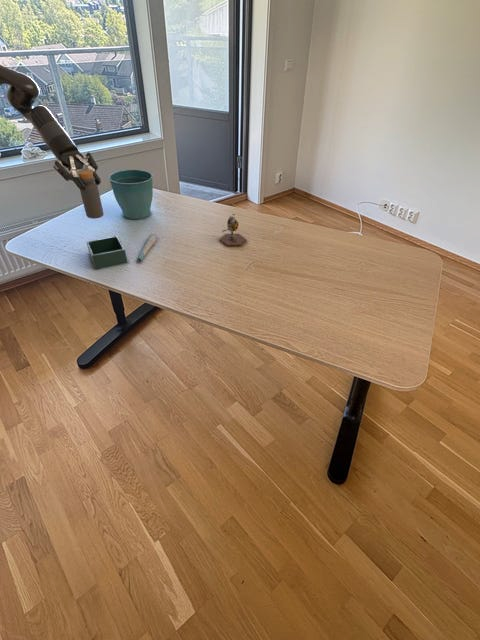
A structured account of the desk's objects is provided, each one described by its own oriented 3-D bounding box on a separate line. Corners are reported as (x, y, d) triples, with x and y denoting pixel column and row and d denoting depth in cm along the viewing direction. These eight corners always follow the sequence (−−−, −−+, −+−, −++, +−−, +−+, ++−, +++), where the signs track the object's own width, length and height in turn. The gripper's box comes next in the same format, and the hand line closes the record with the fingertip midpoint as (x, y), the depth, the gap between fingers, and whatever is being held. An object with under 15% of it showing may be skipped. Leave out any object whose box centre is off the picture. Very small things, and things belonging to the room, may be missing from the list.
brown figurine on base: (229, 232, 148) (229, 205, 140) (248, 238, 145) (250, 210, 137) (216, 243, 140) (216, 215, 132) (237, 249, 138) (238, 221, 130)
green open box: (95, 269, 122) (92, 256, 119) (89, 255, 130) (86, 241, 126) (127, 263, 127) (124, 249, 123) (120, 249, 134) (117, 235, 130)
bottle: (100, 219, 121) (91, 175, 111) (84, 218, 121) (72, 174, 111) (105, 212, 126) (96, 169, 116) (89, 211, 125) (79, 168, 116)
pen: (150, 238, 141) (149, 232, 139) (158, 239, 141) (157, 232, 139) (134, 263, 127) (133, 256, 125) (143, 264, 126) (142, 257, 125)
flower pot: (116, 207, 162) (109, 169, 151) (155, 205, 166) (151, 168, 155) (115, 224, 149) (107, 184, 138) (158, 221, 153) (153, 182, 142)
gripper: (40, 137, 105) (77, 186, 108) (79, 129, 114) (112, 174, 118) (35, 152, 110) (70, 198, 114) (73, 143, 120) (104, 186, 123)
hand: (91, 186), depth 116 cm, fingers closed on bottle, 5 cm apart
